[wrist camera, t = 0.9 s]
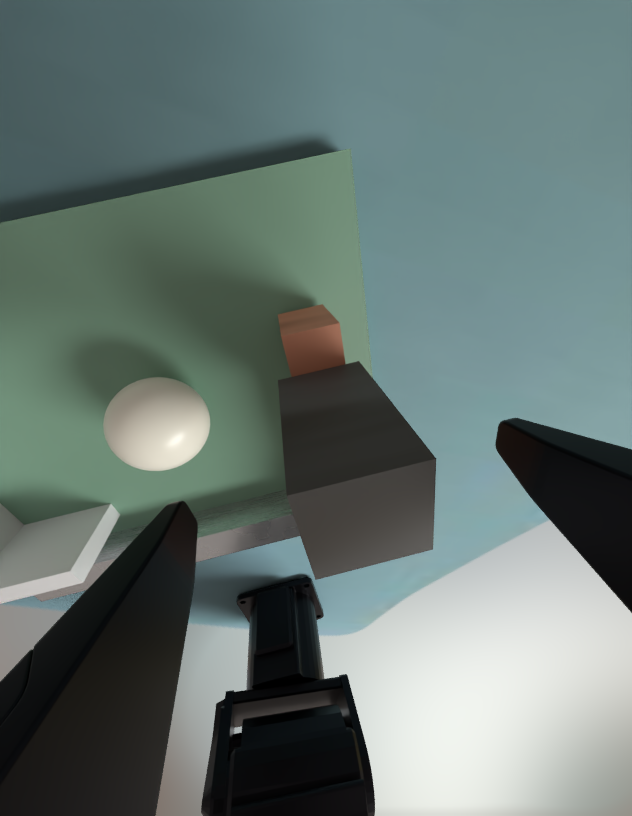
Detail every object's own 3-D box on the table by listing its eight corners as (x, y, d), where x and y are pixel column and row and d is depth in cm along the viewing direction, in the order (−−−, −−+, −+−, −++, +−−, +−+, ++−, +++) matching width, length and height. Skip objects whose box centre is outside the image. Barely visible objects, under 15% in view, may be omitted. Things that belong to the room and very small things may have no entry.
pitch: (378, 482, 20) (383, 493, 20) (68, 560, 20) (59, 574, 19) (344, 156, 11) (350, 148, 10) (-238, 279, 11) (-282, 282, 10)
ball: (227, 425, 15) (216, 477, 12) (152, 443, 15) (119, 501, 12) (197, 354, 13) (173, 393, 10) (110, 374, 13) (55, 421, 10)
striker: (363, 499, 19) (428, 673, 11) (319, 510, 19) (355, 693, 11) (333, 301, 13) (438, 392, 5) (266, 316, 13) (264, 433, 5)
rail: (375, 489, 19) (386, 513, 18) (62, 568, 19) (41, 601, 17) (373, 467, 18) (384, 490, 17) (41, 550, 18) (17, 583, 16)
